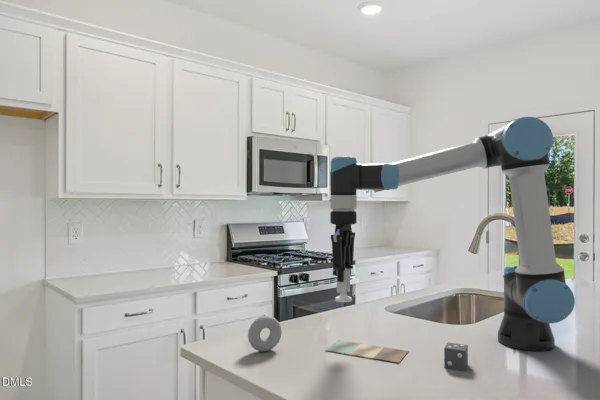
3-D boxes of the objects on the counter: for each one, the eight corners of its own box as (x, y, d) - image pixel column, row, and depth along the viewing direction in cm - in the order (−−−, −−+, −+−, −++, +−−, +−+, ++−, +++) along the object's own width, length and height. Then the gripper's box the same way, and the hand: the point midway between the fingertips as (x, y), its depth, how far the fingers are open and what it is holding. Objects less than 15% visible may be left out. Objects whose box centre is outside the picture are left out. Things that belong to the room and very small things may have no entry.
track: (408, 352, 124) (408, 350, 124) (398, 363, 115) (398, 362, 115) (338, 341, 134) (338, 340, 134) (325, 351, 125) (325, 349, 125)
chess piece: (351, 302, 125) (351, 267, 125) (333, 301, 126) (333, 266, 126) (352, 298, 130) (352, 264, 130) (336, 298, 131) (335, 264, 131)
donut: (250, 356, 121) (250, 319, 121) (246, 352, 124) (246, 316, 124) (283, 350, 126) (283, 315, 126) (278, 346, 129) (278, 312, 129)
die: (467, 364, 115) (467, 344, 115) (465, 371, 110) (465, 350, 110) (447, 361, 117) (447, 342, 117) (444, 367, 112) (444, 347, 112)
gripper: (341, 209, 137) (341, 286, 136) (320, 210, 123) (320, 295, 123) (364, 210, 133) (364, 288, 133) (345, 211, 120) (345, 298, 120)
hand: (343, 291), depth 128 cm, fingers closed on chess piece, 2 cm apart
